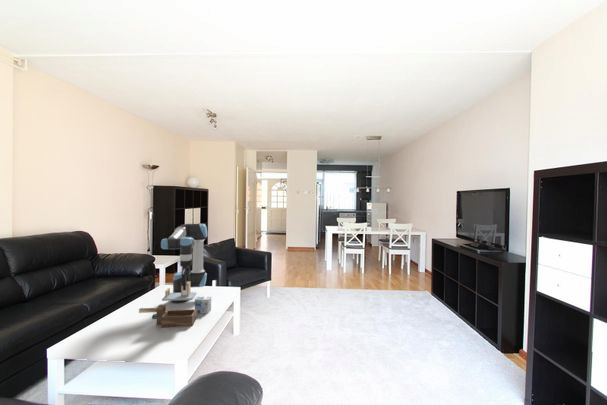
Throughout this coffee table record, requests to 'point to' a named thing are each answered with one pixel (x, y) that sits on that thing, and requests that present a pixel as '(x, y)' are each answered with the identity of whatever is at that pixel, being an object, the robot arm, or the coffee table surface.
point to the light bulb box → (203, 304)
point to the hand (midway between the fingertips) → (185, 293)
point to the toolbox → (175, 317)
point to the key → (147, 310)
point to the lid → (179, 294)
